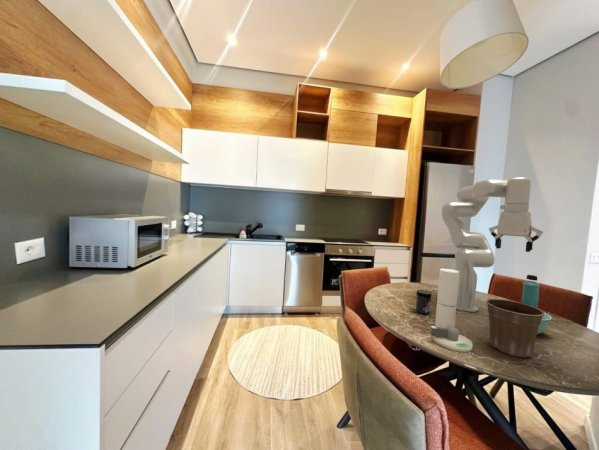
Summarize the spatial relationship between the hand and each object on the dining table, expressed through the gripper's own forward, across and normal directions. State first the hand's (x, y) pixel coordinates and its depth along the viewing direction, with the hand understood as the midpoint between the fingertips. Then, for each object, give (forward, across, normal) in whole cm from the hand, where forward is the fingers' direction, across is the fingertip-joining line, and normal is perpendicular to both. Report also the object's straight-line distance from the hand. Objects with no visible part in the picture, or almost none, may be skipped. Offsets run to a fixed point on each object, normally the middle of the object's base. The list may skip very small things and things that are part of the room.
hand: (512, 249), depth 103 cm
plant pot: (+36, +5, -14) cm, 39 cm away
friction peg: (+34, -10, -31) cm, 47 cm away
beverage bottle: (+35, -2, +40) cm, 54 cm away
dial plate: (+36, -8, -29) cm, 46 cm away
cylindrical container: (+36, -16, -18) cm, 43 cm away
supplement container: (+35, -30, -10) cm, 47 cm away
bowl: (+36, +3, +13) cm, 38 cm away
